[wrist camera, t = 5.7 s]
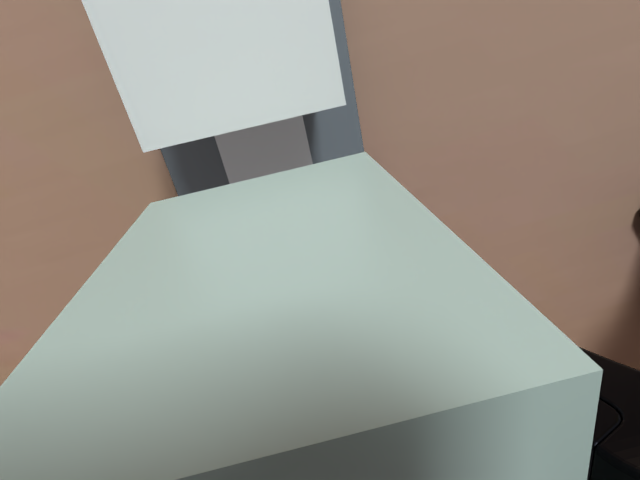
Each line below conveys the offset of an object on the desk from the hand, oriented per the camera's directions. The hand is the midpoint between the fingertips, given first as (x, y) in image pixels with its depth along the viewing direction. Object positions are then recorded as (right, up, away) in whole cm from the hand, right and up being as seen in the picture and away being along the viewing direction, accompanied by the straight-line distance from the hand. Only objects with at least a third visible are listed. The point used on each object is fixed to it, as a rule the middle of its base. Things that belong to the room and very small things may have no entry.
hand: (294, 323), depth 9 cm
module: (0, +1, +1) cm, 2 cm away
